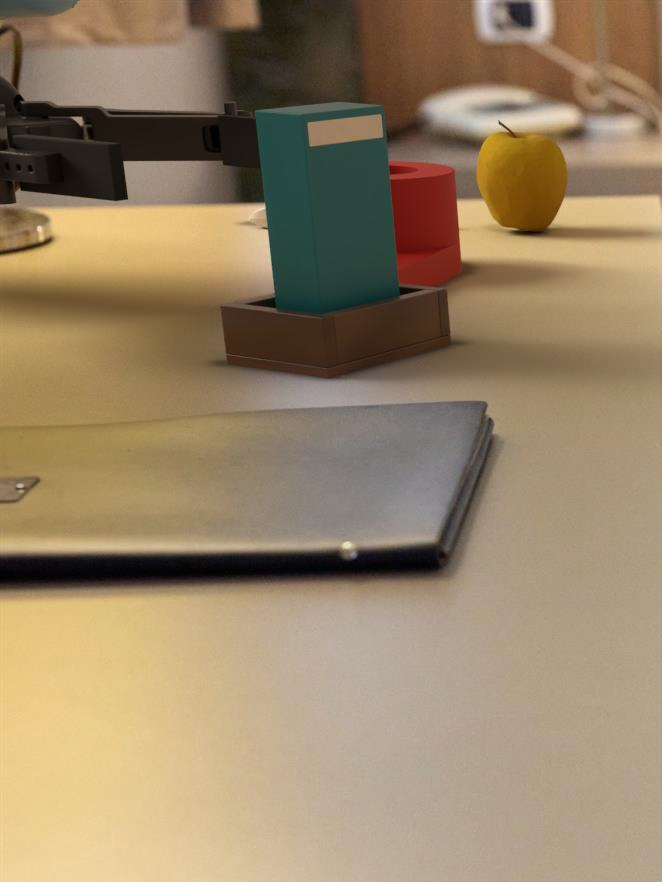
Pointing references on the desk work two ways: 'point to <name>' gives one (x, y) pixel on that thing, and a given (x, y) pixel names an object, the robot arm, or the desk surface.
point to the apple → (522, 179)
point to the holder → (335, 333)
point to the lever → (425, 222)
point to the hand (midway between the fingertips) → (223, 159)
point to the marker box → (328, 205)
